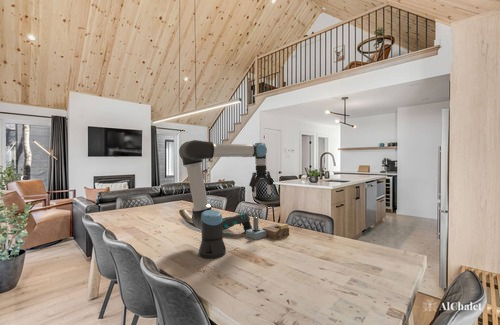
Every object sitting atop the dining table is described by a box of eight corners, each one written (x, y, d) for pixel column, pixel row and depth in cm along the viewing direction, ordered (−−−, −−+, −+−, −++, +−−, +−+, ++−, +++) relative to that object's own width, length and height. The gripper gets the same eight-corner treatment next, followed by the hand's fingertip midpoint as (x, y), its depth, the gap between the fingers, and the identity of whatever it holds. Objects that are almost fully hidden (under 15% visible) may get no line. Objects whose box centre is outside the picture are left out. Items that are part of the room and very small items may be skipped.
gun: (253, 231, 172) (246, 211, 172) (214, 244, 174) (207, 224, 174) (253, 229, 178) (247, 209, 178) (216, 241, 181) (210, 221, 181)
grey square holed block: (255, 239, 159) (255, 233, 159) (245, 236, 167) (245, 230, 167) (266, 236, 165) (266, 230, 165) (257, 233, 173) (256, 227, 173)
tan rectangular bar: (281, 229, 163) (280, 225, 163) (278, 228, 164) (278, 225, 164) (288, 227, 167) (288, 224, 167) (286, 226, 169) (285, 223, 169)
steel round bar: (255, 237, 164) (255, 218, 163) (252, 236, 166) (252, 217, 166) (259, 236, 166) (259, 217, 166) (256, 235, 168) (256, 216, 168)
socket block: (274, 239, 159) (274, 231, 159) (262, 235, 168) (262, 227, 168) (289, 235, 168) (289, 227, 168) (276, 231, 177) (276, 224, 177)
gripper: (250, 165, 159) (251, 198, 159) (277, 164, 174) (278, 193, 174) (243, 165, 164) (244, 196, 165) (270, 164, 180) (271, 192, 180)
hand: (261, 195), depth 170 cm, fingers open, 13 cm apart
